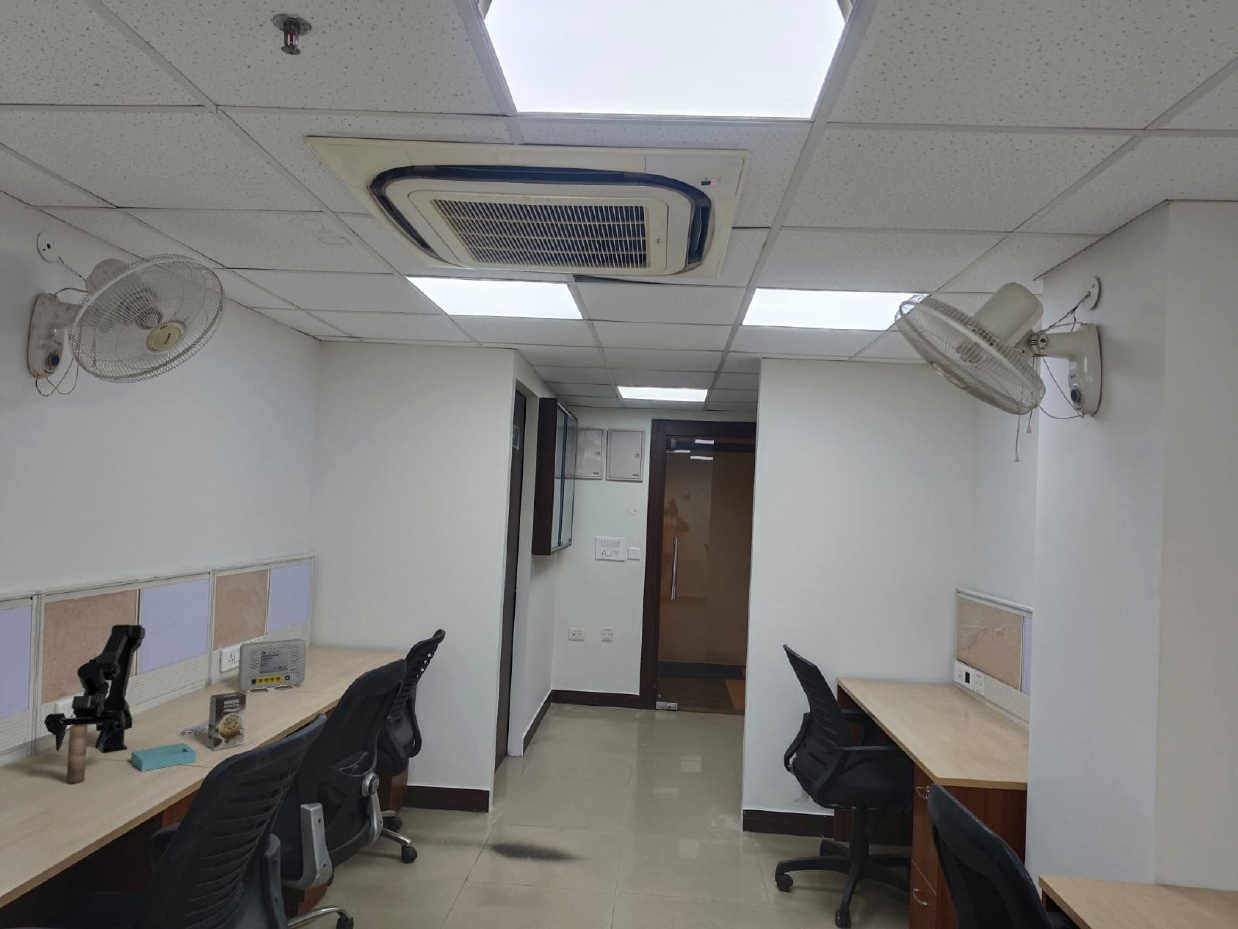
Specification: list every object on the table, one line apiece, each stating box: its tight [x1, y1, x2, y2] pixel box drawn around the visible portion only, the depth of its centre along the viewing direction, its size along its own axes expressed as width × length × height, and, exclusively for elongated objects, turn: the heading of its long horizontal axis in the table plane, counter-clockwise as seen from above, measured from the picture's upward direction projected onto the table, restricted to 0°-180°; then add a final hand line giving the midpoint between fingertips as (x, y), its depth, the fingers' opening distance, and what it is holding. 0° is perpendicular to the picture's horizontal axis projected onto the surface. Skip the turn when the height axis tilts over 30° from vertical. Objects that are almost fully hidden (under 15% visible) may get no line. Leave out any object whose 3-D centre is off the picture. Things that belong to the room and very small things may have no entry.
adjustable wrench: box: [181, 719, 209, 736], centre depth 275 cm, size 25×6×2 cm, turn 178°
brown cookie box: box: [206, 691, 247, 751], centre depth 252 cm, size 9×6×16 cm
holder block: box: [130, 742, 197, 772], centre depth 235 cm, size 12×14×3 cm
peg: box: [66, 724, 88, 785], centre depth 217 cm, size 4×4×15 cm
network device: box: [237, 638, 307, 691], centre depth 332 cm, size 26×9×20 cm, turn 130°
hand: (76, 749), depth 216 cm, fingers open, 9 cm apart
